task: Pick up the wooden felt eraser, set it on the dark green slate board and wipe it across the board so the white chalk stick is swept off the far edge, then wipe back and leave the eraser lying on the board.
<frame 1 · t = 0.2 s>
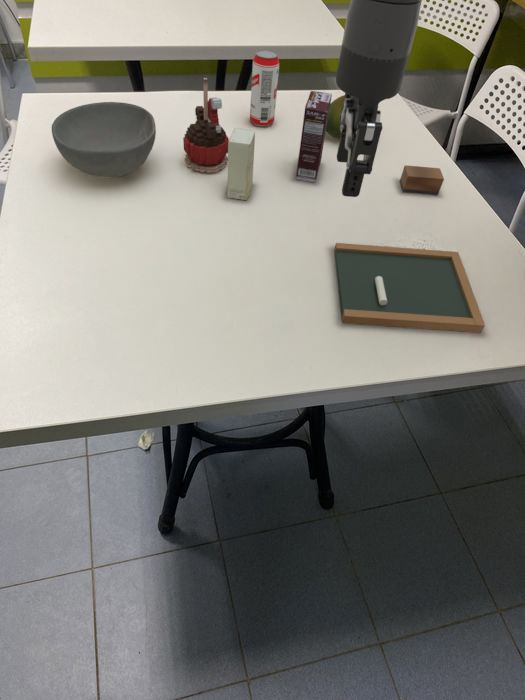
hand: (346, 177, 66), 24 cm above the table, tool pointing down, fingers open, 8 cm apart
chalk: (380, 293, 85), point 1 cm above the table, tilted 9°, touching slate board
bowl: (111, 169, 107), on the table
eraser: (418, 188, 111), on the table
supplement box: (307, 172, 112), on the table
beer can: (261, 123, 125), on the table
cake: (206, 164, 111), on the table
fruit: (344, 137, 124), on the table
slate board: (398, 288, 89), on the table
cosmetic box: (239, 192, 105), on the table
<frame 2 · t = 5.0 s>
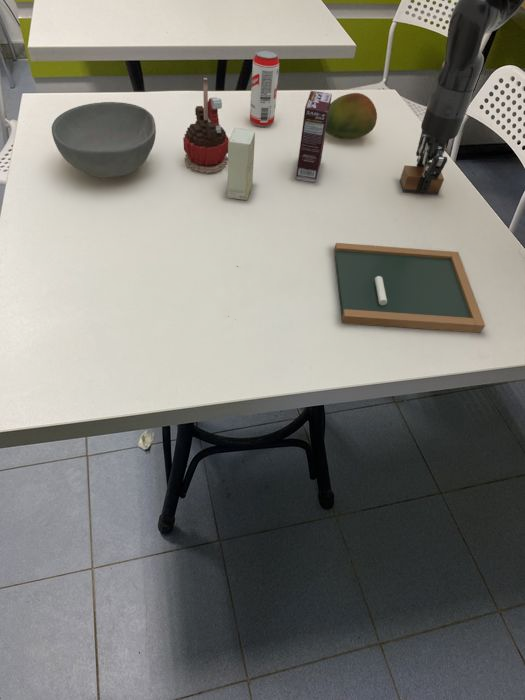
hand: (419, 185, 110), 1 cm above the table, tool pointing down, fingers closed on eraser, 4 cm apart
eraser: (418, 188, 111), on the table, touching gripper
everything else where it was.
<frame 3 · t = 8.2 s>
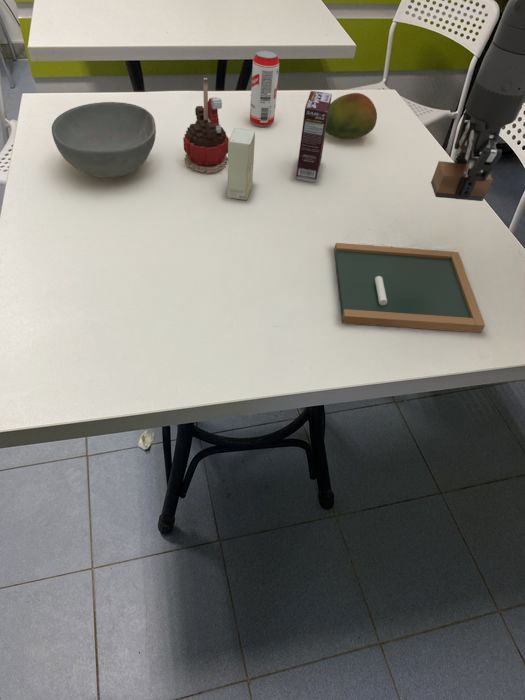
hand: (458, 188, 83), 15 cm above the table, tool pointing down, fingers closed on eraser, 4 cm apart
eraser: (456, 191, 84), point 15 cm above the table, touching gripper
everything else where it was.
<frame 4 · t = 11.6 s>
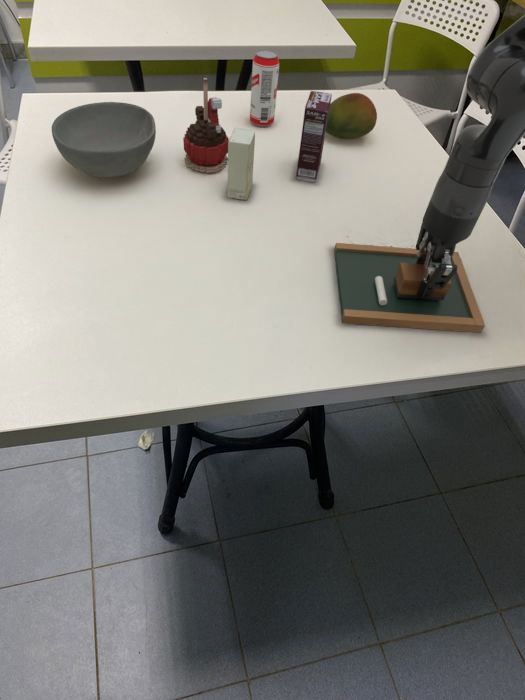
hand: (419, 286, 85), 3 cm above the table, tool pointing down, fingers closed on eraser, 4 cm apart
eraser: (417, 290, 86), point 2 cm above the table, touching gripper
everything else where it was.
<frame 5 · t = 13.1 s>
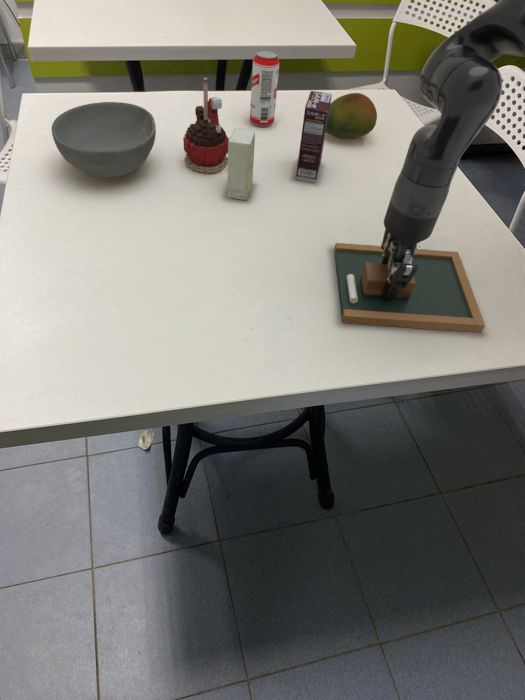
hand: (385, 286, 86), 2 cm above the table, tool pointing down, fingers closed on eraser, 4 cm apart
chalk: (354, 290, 85), point 1 cm above the table, tilted 53°, touching slate board
eraser: (383, 290, 86), point 1 cm above the table, touching gripper
everything else where it was.
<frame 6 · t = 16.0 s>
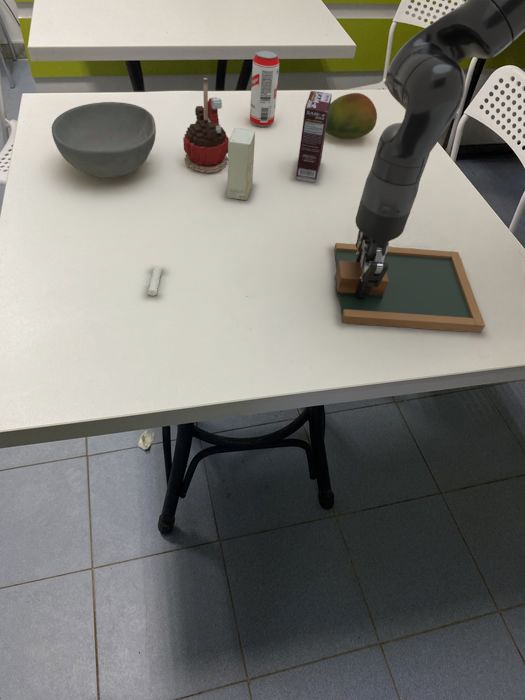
hand: (359, 285, 85), 2 cm above the table, tool pointing down, fingers closed on eraser, 4 cm apart
chalk: (154, 283, 84), on the table, tilted 10°
eraser: (358, 288, 86), point 1 cm above the table, touching gripper
everything else where it was.
when the fingers open (2 cm above the table, at t = 18.6 s): eraser stays where it is, resting on slate board.
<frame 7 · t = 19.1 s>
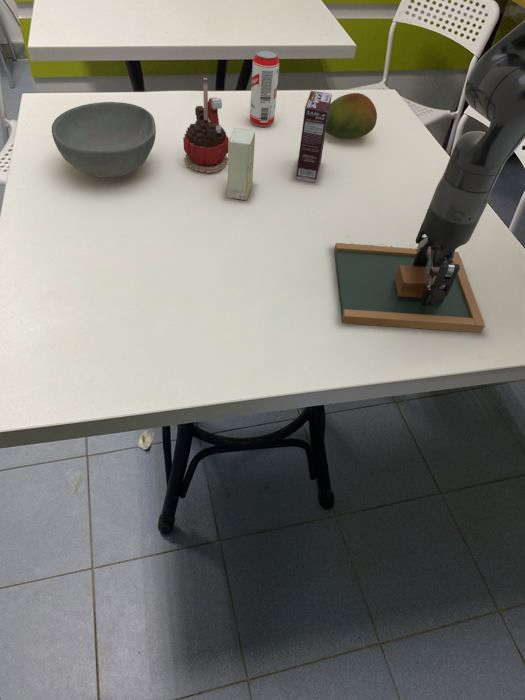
hand: (421, 287, 86), 2 cm above the table, tool pointing down, fingers open, 8 cm apart
chalk: (77, 484, 146), on the floor, tilted 160°
eraser: (417, 292, 86), point 1 cm above the table, touching slate board
everything else where it was.
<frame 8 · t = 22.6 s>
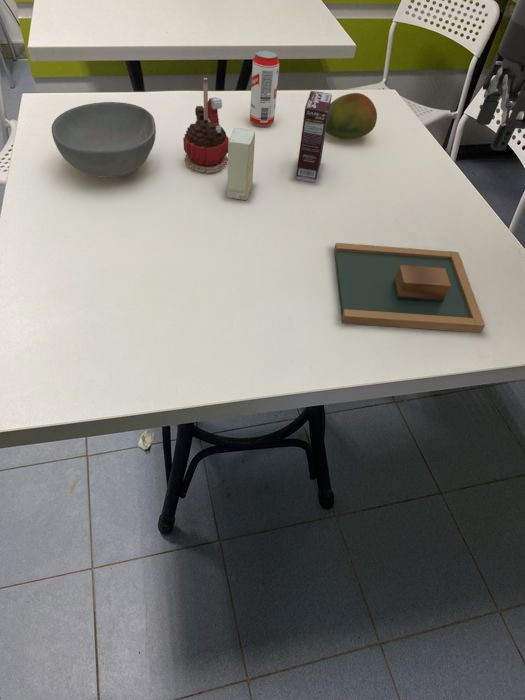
hand: (489, 136, 79), 23 cm above the table, tool pointing down, fingers open, 8 cm apart
chalk: (71, 484, 146), on the floor, tilted 101°
everything else where it was.
at the end: chalk on the floor; eraser inside the target area on the slate board (3.4 cm from its centre), point 1.2 cm above the slate board's base; the gripper is holding nothing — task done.
